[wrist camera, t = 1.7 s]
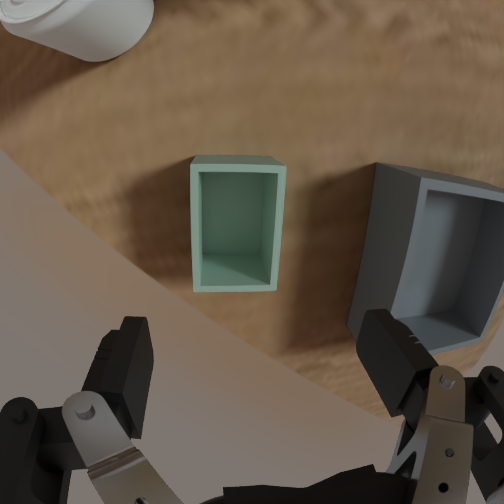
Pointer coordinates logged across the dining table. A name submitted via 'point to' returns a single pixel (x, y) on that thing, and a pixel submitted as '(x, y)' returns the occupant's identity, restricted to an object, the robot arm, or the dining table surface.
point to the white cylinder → (79, 24)
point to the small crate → (236, 222)
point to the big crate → (432, 256)
